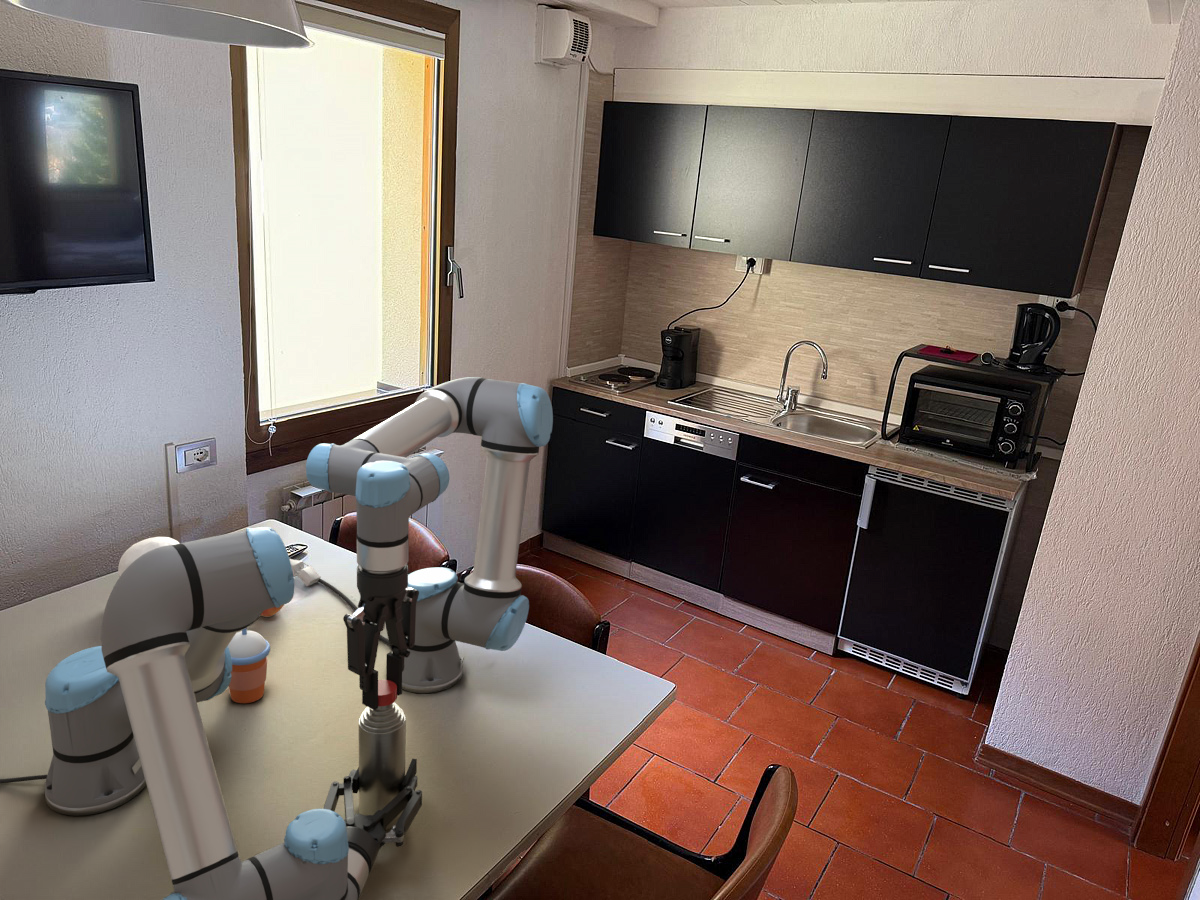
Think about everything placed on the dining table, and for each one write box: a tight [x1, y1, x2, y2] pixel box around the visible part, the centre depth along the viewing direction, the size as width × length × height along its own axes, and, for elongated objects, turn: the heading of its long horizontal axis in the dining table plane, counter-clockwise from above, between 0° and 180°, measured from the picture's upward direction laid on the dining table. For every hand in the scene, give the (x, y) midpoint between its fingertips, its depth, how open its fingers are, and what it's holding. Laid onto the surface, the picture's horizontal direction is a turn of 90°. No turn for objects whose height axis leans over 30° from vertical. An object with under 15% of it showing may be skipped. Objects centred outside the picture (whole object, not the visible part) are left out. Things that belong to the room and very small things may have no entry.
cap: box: [378, 679, 398, 706], centre depth 135 cm, size 4×4×2 cm
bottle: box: [358, 701, 407, 831], centre depth 138 cm, size 7×7×24 cm
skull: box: [117, 536, 180, 578], centre depth 200 cm, size 13×22×16 cm, turn 73°
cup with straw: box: [228, 627, 271, 704], centre depth 167 cm, size 9×9×18 cm
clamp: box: [289, 558, 322, 587], centre depth 219 cm, size 20×4×7 cm, turn 62°
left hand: (390, 763), depth 145 cm, fingers closed on bottle, 7 cm apart
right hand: (382, 698), depth 135 cm, fingers closed on cap, 4 cm apart
